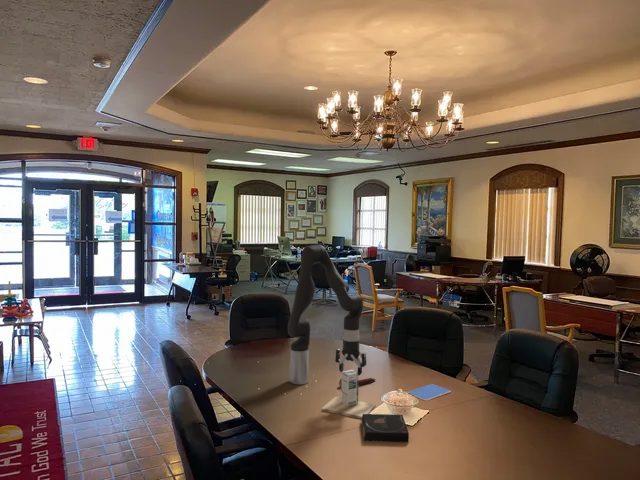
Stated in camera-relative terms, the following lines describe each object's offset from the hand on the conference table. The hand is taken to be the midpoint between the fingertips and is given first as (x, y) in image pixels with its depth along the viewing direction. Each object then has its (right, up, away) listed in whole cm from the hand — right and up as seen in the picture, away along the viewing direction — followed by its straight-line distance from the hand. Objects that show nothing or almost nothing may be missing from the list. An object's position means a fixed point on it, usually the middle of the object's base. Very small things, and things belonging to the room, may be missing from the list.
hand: (350, 373), depth 210 cm
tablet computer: (+40, -15, +17) cm, 46 cm away
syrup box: (0, -14, +1) cm, 14 cm away
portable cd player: (+12, -17, -25) cm, 33 cm away
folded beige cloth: (-1, -15, -3) cm, 15 cm away
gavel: (+7, -14, +26) cm, 30 cm away
